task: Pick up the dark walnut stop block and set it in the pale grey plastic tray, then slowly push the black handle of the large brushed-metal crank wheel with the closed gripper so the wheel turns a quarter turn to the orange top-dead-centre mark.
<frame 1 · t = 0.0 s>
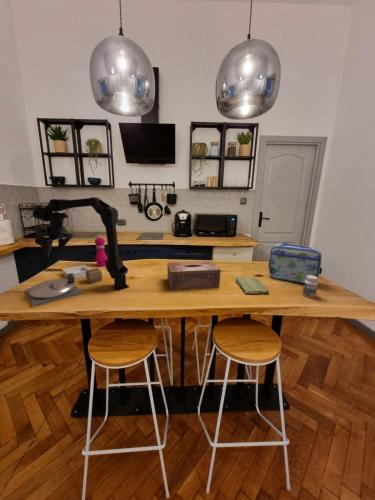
hand: (53, 254, 107), 15 cm above the table, tool pointing down, fingers open, 9 cm apart
lunch box: (290, 280, 123), on the table
tissue box cover: (192, 283, 115), on the table
stop block: (94, 281, 114), on the table
pill bottle: (308, 296, 104), on the table
pepper mill: (101, 265, 138), on the table
washcloth: (251, 288, 112), on the table
crank: (53, 284, 99), point 4 cm above the table, hinge at -90.0°
crank board: (53, 292, 100), on the table
tray: (77, 274, 122), on the table
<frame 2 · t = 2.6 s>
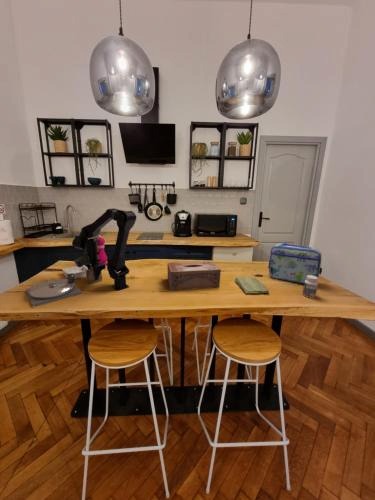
hand: (94, 278, 114), 2 cm above the table, tool pointing down, fingers closed on stop block, 6 cm apart
stop block: (94, 280, 114), on the table, touching gripper
everything else where it was.
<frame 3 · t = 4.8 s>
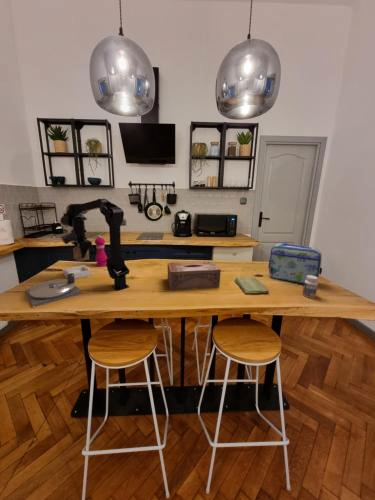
hand: (81, 256, 116), 12 cm above the table, tool pointing down, fingers closed on stop block, 6 cm apart
stop block: (81, 258, 116), point 11 cm above the table, touching gripper
everything else where it was.
when the fingers open (4 cm above the table, at t = 7.1 s): stop block drops 2 cm, resting on tray.
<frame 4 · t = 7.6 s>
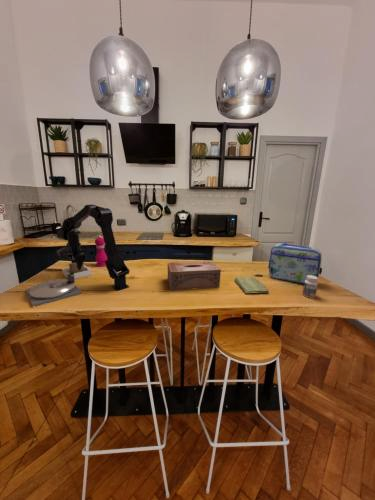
hand: (76, 268, 121), 4 cm above the table, tool pointing down, fingers open, 9 cm apart
stop block: (77, 273, 122), resting on tray
everything else where it was.
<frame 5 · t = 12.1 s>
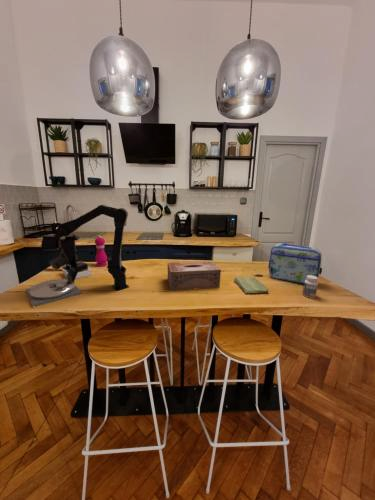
hand: (73, 280, 103), 5 cm above the table, tool pointing down, fingers closed
crank: (53, 284, 99), point 4 cm above the table, hinge at -87.5°, touching gripper
everything else where it was.
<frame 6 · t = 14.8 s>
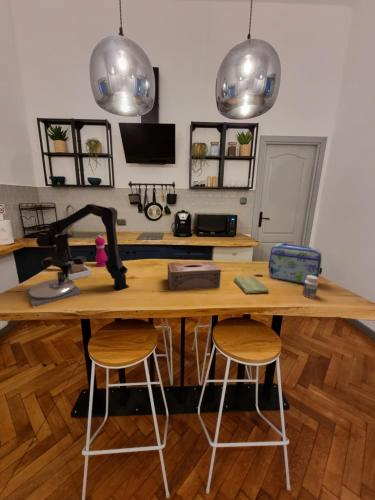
hand: (67, 276, 107), 5 cm above the table, tool pointing down, fingers closed
crank: (52, 284, 99), point 4 cm above the table, hinge at -40.2°, touching gripper
everything else where it was.
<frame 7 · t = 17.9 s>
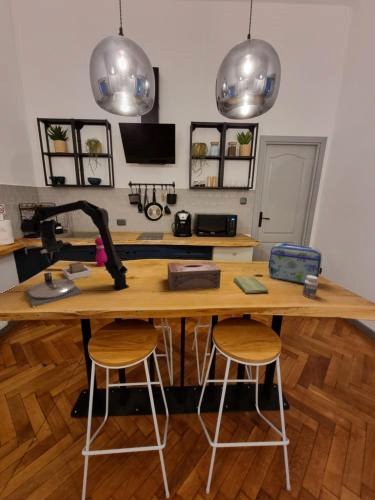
hand: (52, 264, 105), 11 cm above the table, tool pointing down, fingers closed
crank: (52, 284, 99), point 4 cm above the table, hinge at 0.5°
everything else where it was.
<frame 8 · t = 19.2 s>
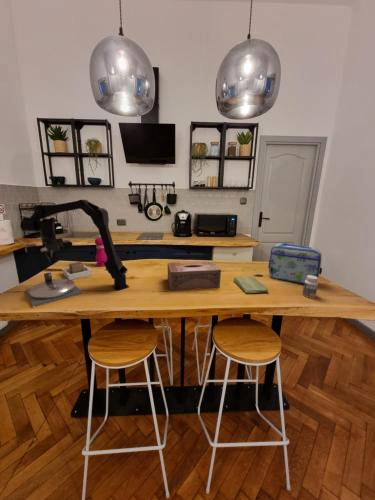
hand: (52, 263, 104), 12 cm above the table, tool pointing down, fingers closed
nothing on the table moved.
at the end: stop block 0.1 cm off-centre on the tray, point 0.5 cm above the tray's base; stop block tilted 0°; crank at +0° (first picture: -90°) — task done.
